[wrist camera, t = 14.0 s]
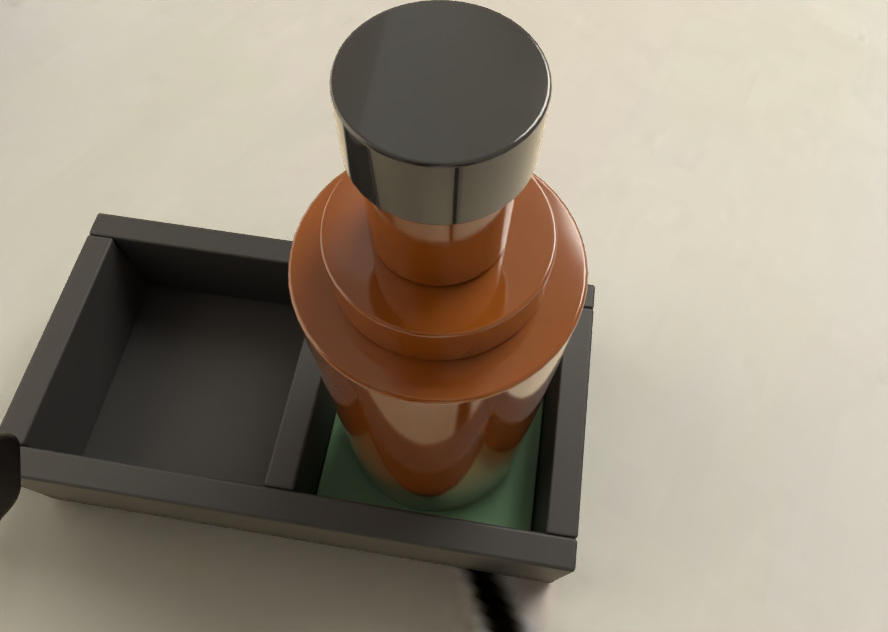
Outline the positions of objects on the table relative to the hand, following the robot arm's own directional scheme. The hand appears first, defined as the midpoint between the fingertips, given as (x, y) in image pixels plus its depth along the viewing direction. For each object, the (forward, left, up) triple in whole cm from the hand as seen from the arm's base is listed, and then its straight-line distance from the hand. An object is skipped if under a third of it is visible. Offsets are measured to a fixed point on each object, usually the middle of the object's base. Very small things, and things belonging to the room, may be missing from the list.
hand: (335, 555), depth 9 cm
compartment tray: (+5, -4, -12) cm, 13 cm away
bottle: (+2, -5, -11) cm, 12 cm away
